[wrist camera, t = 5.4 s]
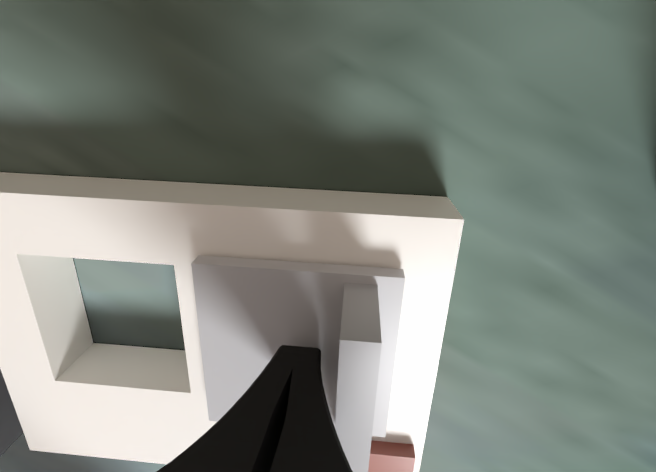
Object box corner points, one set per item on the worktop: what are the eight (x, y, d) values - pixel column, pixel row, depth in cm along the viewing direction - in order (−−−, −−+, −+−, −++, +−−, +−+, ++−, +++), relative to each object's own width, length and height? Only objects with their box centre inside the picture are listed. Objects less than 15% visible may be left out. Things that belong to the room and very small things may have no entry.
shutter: (384, 423, 15) (390, 517, 12) (214, 407, 15) (175, 494, 12) (403, 269, 12) (417, 335, 9) (198, 255, 13) (144, 314, 9)
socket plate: (409, 440, 18) (417, 504, 16) (67, 407, 19) (19, 462, 17) (447, 196, 14) (469, 226, 11) (-2, 171, 15) (-86, 193, 12)
